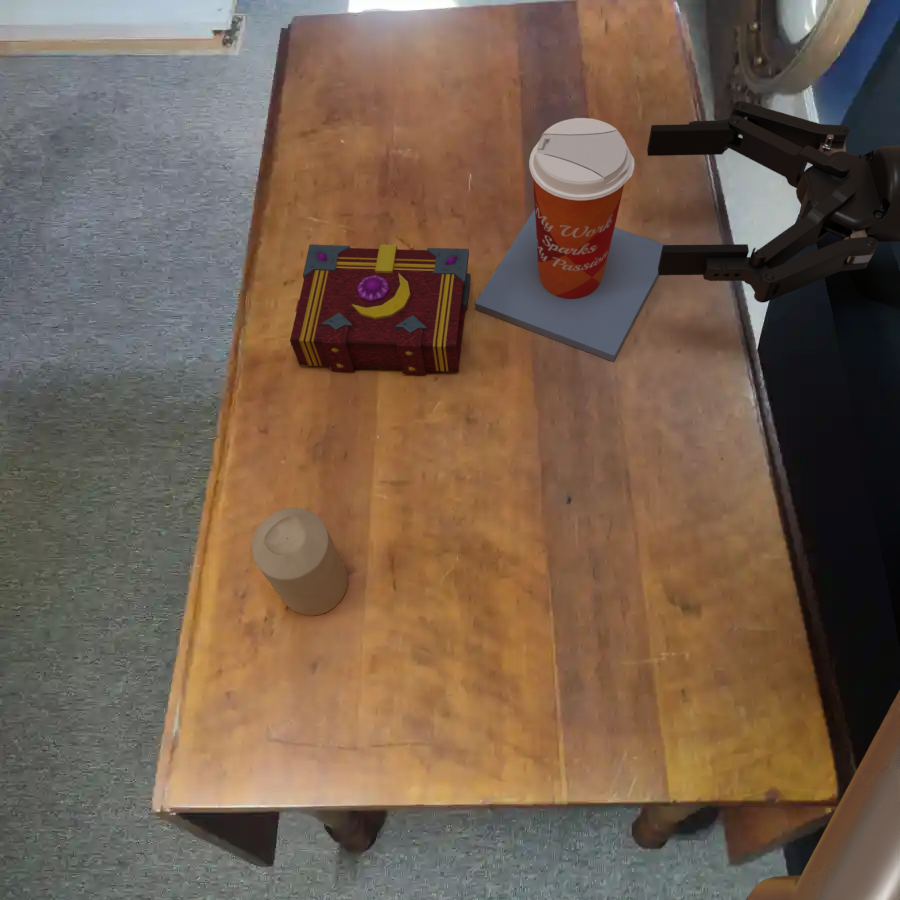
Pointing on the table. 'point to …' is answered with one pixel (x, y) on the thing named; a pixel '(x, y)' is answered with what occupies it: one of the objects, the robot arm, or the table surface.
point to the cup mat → (583, 319)
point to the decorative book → (382, 308)
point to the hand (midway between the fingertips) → (654, 197)
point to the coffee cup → (577, 202)
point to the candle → (300, 561)
